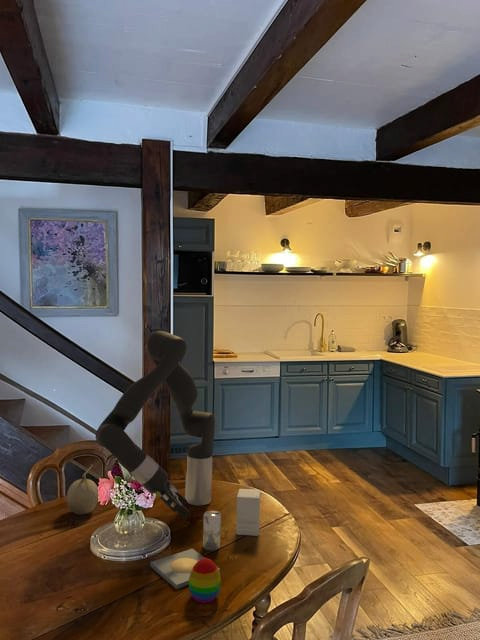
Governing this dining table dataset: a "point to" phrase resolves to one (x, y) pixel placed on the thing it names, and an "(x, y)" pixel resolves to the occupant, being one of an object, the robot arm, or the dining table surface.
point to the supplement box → (248, 512)
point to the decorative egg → (204, 581)
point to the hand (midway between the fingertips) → (186, 509)
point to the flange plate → (177, 567)
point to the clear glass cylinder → (211, 530)
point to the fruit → (82, 495)
